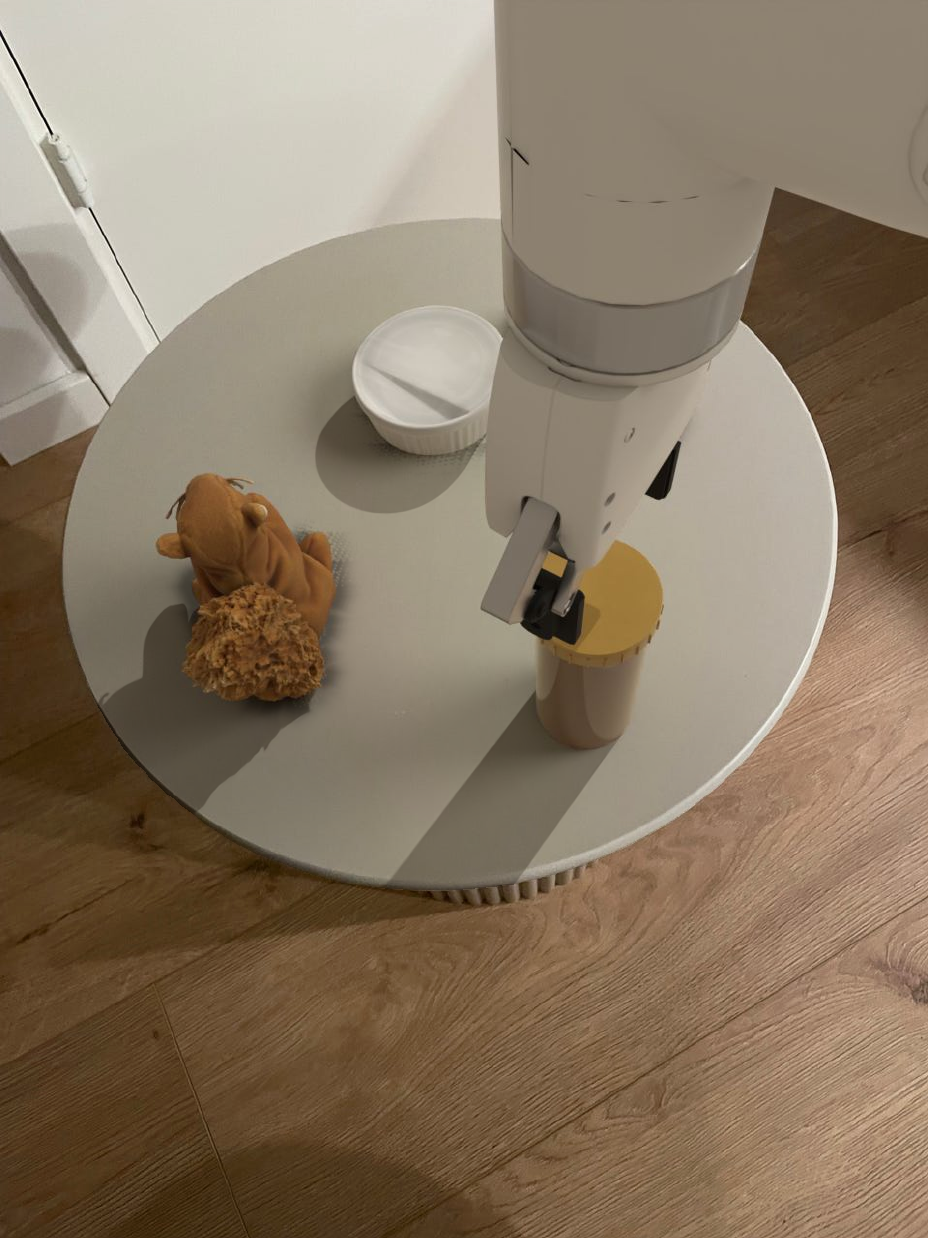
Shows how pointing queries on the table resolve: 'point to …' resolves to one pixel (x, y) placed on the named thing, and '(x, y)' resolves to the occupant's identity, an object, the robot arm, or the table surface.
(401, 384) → the ramekin
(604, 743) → the jar
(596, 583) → the lid
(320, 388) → the table surface
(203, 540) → the stuffed squirrel
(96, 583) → the table surface
